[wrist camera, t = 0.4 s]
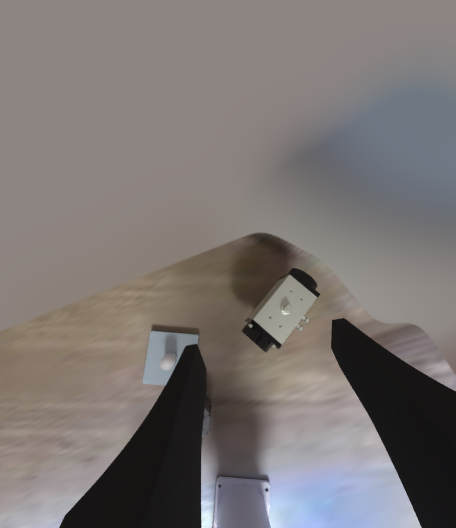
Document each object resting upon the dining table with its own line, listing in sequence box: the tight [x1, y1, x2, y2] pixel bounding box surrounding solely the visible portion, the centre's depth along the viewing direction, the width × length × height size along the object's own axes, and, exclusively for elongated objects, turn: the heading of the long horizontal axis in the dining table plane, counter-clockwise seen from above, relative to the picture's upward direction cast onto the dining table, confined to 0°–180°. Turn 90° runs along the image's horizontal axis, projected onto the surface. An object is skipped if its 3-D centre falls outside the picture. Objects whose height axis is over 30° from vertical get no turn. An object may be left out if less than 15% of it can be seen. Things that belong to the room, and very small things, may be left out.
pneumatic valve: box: [242, 268, 320, 352], centre depth 33 cm, size 6×12×12 cm, turn 139°
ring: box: [202, 397, 211, 439], centre depth 33 cm, size 5×5×4 cm
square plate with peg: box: [142, 331, 199, 385], centre depth 34 cm, size 8×8×4 cm
